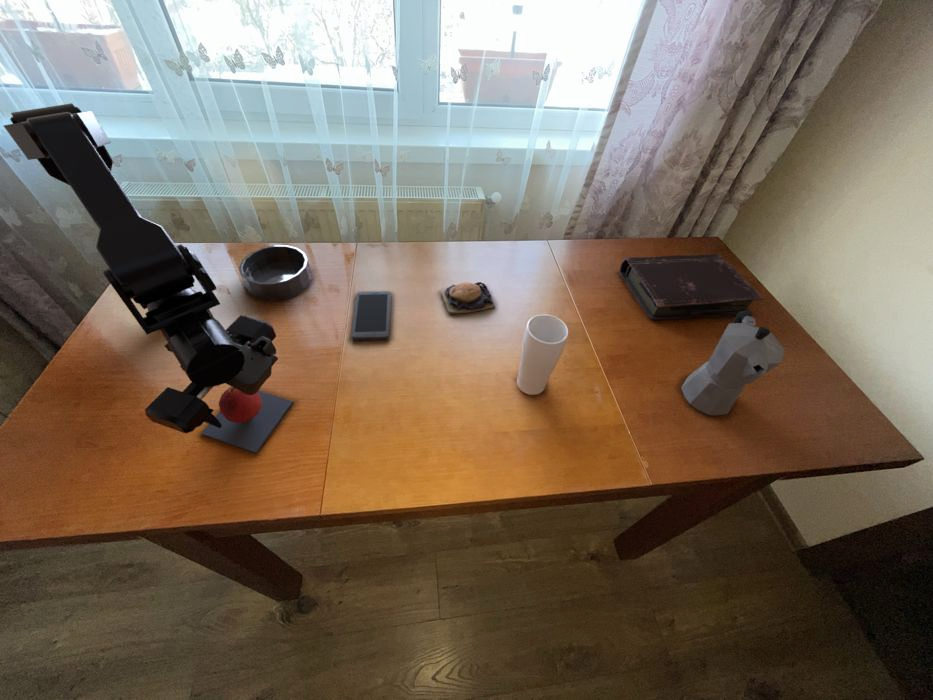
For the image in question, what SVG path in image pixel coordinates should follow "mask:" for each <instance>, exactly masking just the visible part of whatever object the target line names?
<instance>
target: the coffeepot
mask: <svg viewBox="0 0 933 700" xmlns="http://www.w3.org/2000/svg"><path fill="white" fill-rule="evenodd" d="M753 316H754V315H753V312H752V311H751V310H749V309H748V310H746V311H741V312H739V313H738V314H737V315H735V317H734V319H733V321H732V322H731V323H730V322H729V323H728V325H727V326H726V328H725V330H724V332H723V334H722V335H721V337H720V339H719V341H718V343H717V345H716V346H715V348H714V350H713V353H712V354H711V356H710V358H709V359H708V360H707V361H705V363H703V364H702V365H701V366H700V367H698V368H697V369H696V370H694V371H692V373H690V375H688V376H687V377H686V378H685V381H684V382H683V384H682V386H681V387H680V389H681V392H682V394H683V397H684V398H685V400H686V402H687V403H688V404H689V405H690V406H691V407H692V408H694V409H695V410H697V411H699V412H701V413H703V414H705V415H708V416H715V417H716V416H723V415H728V414H729V412H730V411H731V409H732V408H733V406H734V405H735V403H736V401H737V400H738V398H739V396H740V395H741V393H742V391H743V389H744V388H745V386H747V385H750V384H753V383H754V382H755V381H757V380H758V379H760V378H761V377H763V376H764V375H766V374H767V373H769V372H770V371H771V370H773V369H774V368H776V367H778V366H779V365H781V363H782V361H783V358H784V355H785V353H786V349H785V348H784V346H783V345H782V343H780V341H779V340H778V339H777V337H775V335H774V334H773V333H771V330H769V328H768V327H765V326H756V324H757V323H756V318H755V317H753Z"/></svg>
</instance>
